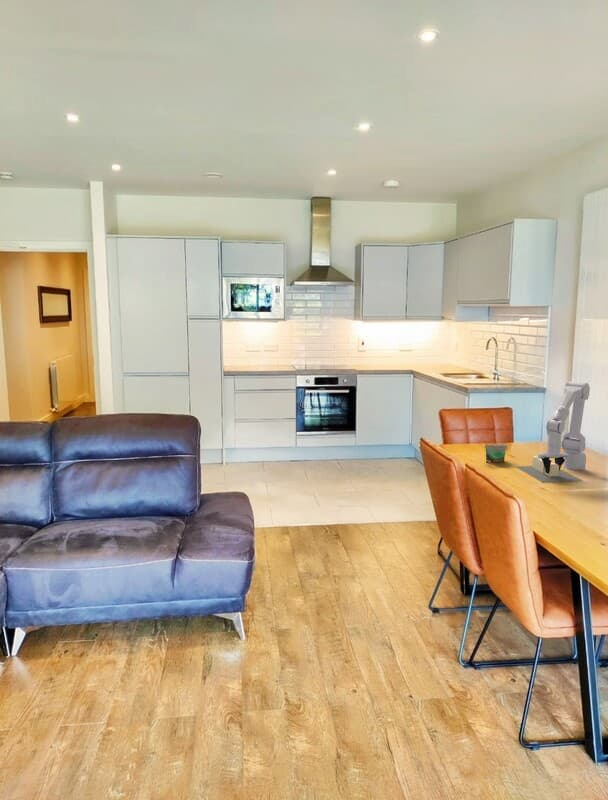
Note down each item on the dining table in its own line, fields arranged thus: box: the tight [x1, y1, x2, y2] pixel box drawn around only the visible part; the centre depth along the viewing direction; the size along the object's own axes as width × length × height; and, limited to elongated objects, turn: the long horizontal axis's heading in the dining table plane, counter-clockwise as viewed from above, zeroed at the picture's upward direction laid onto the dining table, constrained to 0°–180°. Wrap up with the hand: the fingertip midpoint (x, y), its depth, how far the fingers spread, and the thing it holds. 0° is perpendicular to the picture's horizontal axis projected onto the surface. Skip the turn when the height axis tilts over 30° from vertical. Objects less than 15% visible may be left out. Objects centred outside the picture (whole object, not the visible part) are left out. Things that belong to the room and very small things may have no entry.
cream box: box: [531, 455, 554, 473], centre depth 271 cm, size 4×11×6 cm, turn 6°
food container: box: [484, 442, 508, 465], centre depth 285 cm, size 12×6×10 cm, turn 105°
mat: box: [515, 465, 584, 484], centre depth 266 cm, size 20×26×1 cm
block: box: [544, 462, 559, 477], centre depth 263 cm, size 4×5×5 cm
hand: (551, 472), depth 262 cm, fingers closed on block, 4 cm apart
